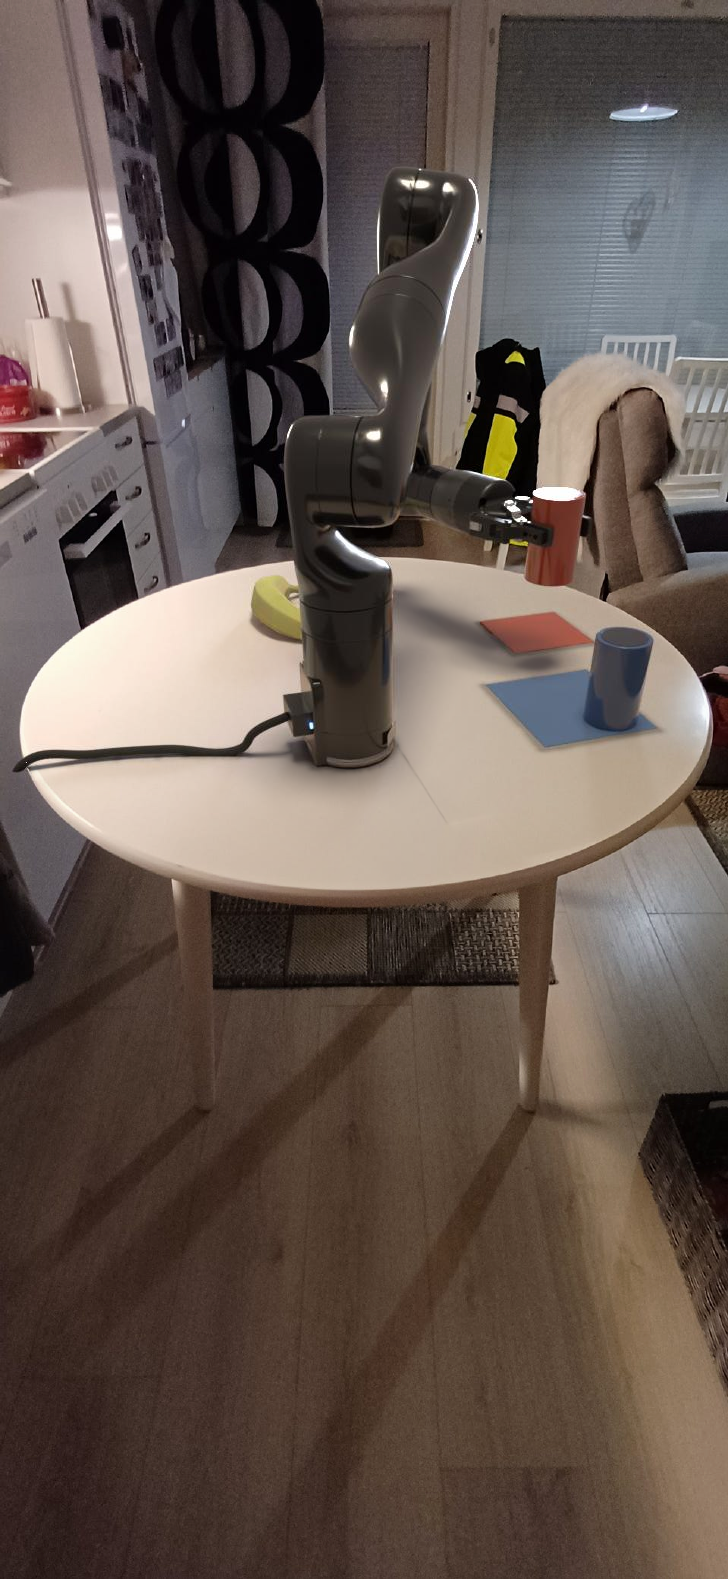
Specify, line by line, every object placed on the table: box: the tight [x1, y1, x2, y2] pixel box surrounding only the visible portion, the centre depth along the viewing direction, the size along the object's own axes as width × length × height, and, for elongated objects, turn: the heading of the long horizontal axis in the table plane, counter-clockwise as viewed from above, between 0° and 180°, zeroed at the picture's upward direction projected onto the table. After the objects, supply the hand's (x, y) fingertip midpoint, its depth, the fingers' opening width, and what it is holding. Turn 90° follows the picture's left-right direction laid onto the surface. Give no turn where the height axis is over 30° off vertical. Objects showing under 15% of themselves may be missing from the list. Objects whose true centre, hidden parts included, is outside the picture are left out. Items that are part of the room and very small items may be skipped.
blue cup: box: [583, 626, 655, 731], centre depth 86 cm, size 6×6×10 cm
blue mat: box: [485, 669, 658, 748], centre depth 92 cm, size 14×16×1 cm
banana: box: [250, 574, 302, 641], centre depth 117 cm, size 14×6×20 cm
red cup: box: [523, 487, 587, 587], centre depth 92 cm, size 6×6×10 cm
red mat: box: [479, 611, 595, 654], centre depth 111 cm, size 12×12×1 cm
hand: (570, 533), depth 90 cm, fingers closed on red cup, 6 cm apart
